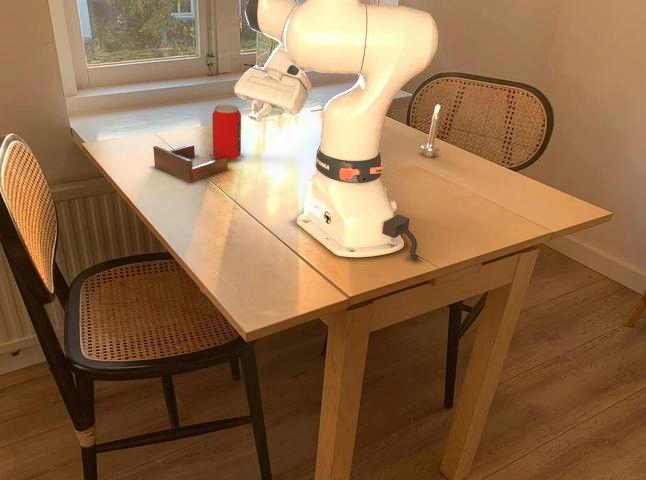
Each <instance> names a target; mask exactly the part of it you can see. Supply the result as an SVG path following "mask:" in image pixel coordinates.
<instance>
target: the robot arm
mask: <svg viewBox="0 0 646 480" xmlns="http://www.w3.org/2000/svg"><path fill="white" fill-rule="evenodd" d="M244 15H245V19H246V22H247V24H248V27H249V28H250V30H252V31H254V32H257V33H260V34H262V35H265V36H267V37H269V38H272V39H273V40H275V41H277V42H279V44H278V46H277V47H276V48H275V49H274V50H273V51H272V52H271V55H270V56H269V58H268V60H267V61H266V63H265V64H264V67H261V66H259V65H254V66H252V67H249V68H248V69H247V70H246V71H245V72H244V74H243V75H242V76H241V77H240V78H239V80H238V81H237V82H236V84H235V85H234V88H233V92H234V94H235V95H236V96H237V97H238V99H240V100H243V101H245V102H249V103H251V110H250V112H249V114H248V118H249V119H250V120H252V121H256V122H258V123H261V122H262V120H263V119H264V118H265V116H267V115H269V114H270V113H271V112H272V110H275V111H279V112H281V113H285V114H287V115H291V116H296V115H298V114H299V113H300V112H301V111H302V110H303V108H304V105H305V104H306V101H307V100H308V97H309V93H310V92H311V91H312V89H313V84H312V82H311V80H310V79H309V77H308V76H307V74H306V73H305V72H304V70H308V71H312V72H317V73H321V74H340V75H341V74H342V75H343V74H344V75H358V76H359V78H358V80H357V82H356V83H355V84H354V86H352V88H350V89H348V90H346V91H344V92H341V93H340V94H338V95H335V96H334V97H332V98H331V99H330V100H329V101H327V102H326V104H325V105H324V108H323V110H322V113H321V125H320V139H319V140H320V141H319V146H318V147H317V149H316V154H315V168H316V170H315V172H314V174H313V176H312V177H311V178H310V179H309V181H308V182H307V187H306V188H307V189H306V192H305V193H306V194H305V201H304V204H303V205H304V208H303V213H302V214H299V216H297V218H296V224H297V225H298V226H300V228H302V229H303V230H304V231H305V232H306V233H308V234H309V235H311V236H312V238H314V239H316V241H318V242H319V243H321V244H322V245H323V246H324V247H325V248H327V250H328V251H330V252H332V254H334V255H336V256H338V257H345V258H368V257H370V258H371V257H376V256H383V255H389V254H391V253H395V252H397V251H400V250H401V249H403V248H404V247H405V241H404V239H403V237H402V236H401V235H402V234H404V235H406V237H407V238H408V239H409V241H410V243H411V248H410V252H409V253H410V254H409V255H410V257H411V259H412V260H413V261H417V260H418V259H419V255H418V254H417V253H416V252H417V248H418V242H417V239H416V237H415V235H414V234H413V233H412V232H411V231H410V230H409V227H410V226H409V225H410V220H411V218H409V217H407V216H405V215H403V214H399V213H397V214H395V213H396V211H397V202H396V200H390V198H389V197H388V189H387V187H386V186H385V185H384V183H383V180H382V178H381V176H382V174H383V171H382V169H384V167H383V166H382V165H383V163H382V157H381V155H382V154H381V152H380V146H381V141H382V140H381V139H382V134H383V129H384V124H385V120H386V116H387V113H388V110H389V109H390V107H391V104H392V102H393V101H394V99H395V97H396V96H397V94H398V93H399V92H400V91H401V89H402V88H403V87H405V86H406V84H407V83H408V82H410V81H411V80H412V79H413V78H414V77H416V76H418V75H420V73H423V71H425V70H426V69H427V68H428V67H429V65H430V64H431V63H432V61H433V60H434V58H435V55H436V54H437V51H438V47H439V30H438V26H437V23H436V21H435V19H434V18H433V16H432V15H431V13H429V12H427V11H424V10H421V9H417V8H413V7H409V6H405V5H395V4H394V5H393V4H391V5H390V4H371V3H364V2H361V0H306V1H304V2H303V3H301V2H299V1H296V0H248V1H247V4H246V6H245V9H244ZM261 107H262V108H261ZM259 109H260V110H259Z"/></svg>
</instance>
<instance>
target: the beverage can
mask: <svg viewBox="0 0 646 480" xmlns="http://www.w3.org/2000/svg"><path fill="white" fill-rule="evenodd" d="M211 115H212V119H211V122H212V123H211V124H212V126H211V127H212V155H213V156H214V157H215V158H216V159H220V158H223V157H226V158H227V162H228V161H229V162H230V161H234V160H236V159H237V158H239V157H240V156H241V155H242V114H241V112H240V110H239V107H238V106H237V105H234V104H218V105H216V106H215V107H214V110H213V112H212V114H211Z"/></svg>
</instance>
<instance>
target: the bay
mask: <svg viewBox="0 0 646 480" xmlns="http://www.w3.org/2000/svg"><path fill="white" fill-rule="evenodd" d="M152 148H153V150H152V151H153V161H154V168H155V169H157V170H160V172H161V171H162V172H164V173H166V174H168V175H170V176H173V177H175V178H177V179H180V180H181V181H183V182H187V183H189V184H192V183H194V182H197V181H200V180H203V179H207V178H209V177H212V176H215V175H217V174H220V173H222V172H225V171H228V161H227V158H226V157H223V158H220V159H218V158H216V159H213V160H210V161H208V162H205V163H201V164H198V165H195V166H193V160H191V159H192V158H195V157H196V154H195V153H196V152H195V144H193V143H192V144H188V145H184V146H181V147H178V148H174V149H170V150H167V149H165V148H162V147H160V146H158V145H155V146H153V147H152Z"/></svg>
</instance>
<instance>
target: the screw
mask: <svg viewBox="0 0 646 480" xmlns="http://www.w3.org/2000/svg"><path fill="white" fill-rule="evenodd" d="M441 108H442V106H441V105H440V104H436V105H435V106H434V111H433V115H432V119H431V124H430V128H429V134H428V138H427V142H426V143H422V144H420V149H421V150H423V155H424V156H425V157H429V158H432V157H435V154H436V152H439V151H440V150H441V148H440V146H439V145H438V144H436V140H437V133H438V130H439V129H438V128H439V123H440V122H439V121H440V119H441V118H440V117H441V115H440V113H441Z"/></svg>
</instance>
